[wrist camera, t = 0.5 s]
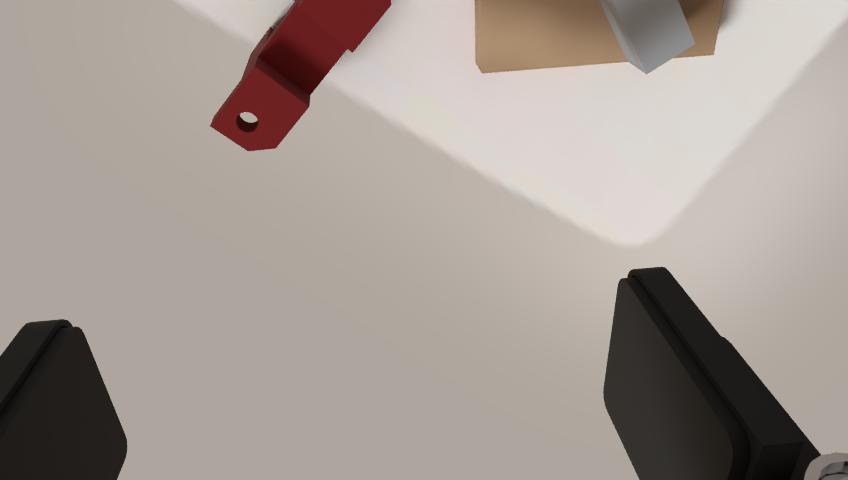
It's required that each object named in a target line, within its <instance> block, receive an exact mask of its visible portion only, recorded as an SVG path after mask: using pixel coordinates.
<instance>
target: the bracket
mask: <svg viewBox="0 0 848 480" xmlns="http://www.w3.org/2000/svg"><path fill="white" fill-rule="evenodd" d="M390 6H391V0H295V3H294V4H293V6H292V7H291V8H290V10H289V11H288V12H287V14H286V15H285V16H284V18H283V19H282V20H281V22H280V23H279V24H278V26H277V27H276V29H275V30H274V29H272V28H271V27H270V29H269V30H268V31H267V33H266V34H265V35H264V37H263V38H262V39H261V41H260V42H259V43H258V45H257V46H256V48H255V49H254V50H253V52H252V53H251V55H250V58H249V60H248V63H247V66H246V69H245V71H244V74H243V77H242V79H241V81H240V82H239V84H238V85H237V86H236V88H235V89H234V90H233V92H232V93H231V95H230V96H229V97H228V98H227V100H226V101H225V102H224V104H223V105H222V107H221V108H220V109H219V111H218V112H217V113H216V115H215V116H214V118H213V121H212V123H211V125H210V126H211V127H212V128H214V129H215V130H217V131H218V132H220V133H221V134H223V135H224V136H226V137H227V138H229V139H231V140H232V141H233V142H235V143H236V144H238V145H240V146H241V147H243V148H244V149H246V150H247V151H254V150H264V149H273V148H276V147H277V146H278V145H279V144H280V142H281V141H282V140H283V138H284V137H285V136H286V135H287V134H288V132H289V131H290V130H291V129H292V127H293V126H294V125H295V124H296V122H297V121H298V120H299V119H300V117H301V116H302V115H303V113H304V112H305V111H306V110H307V109H308V107H309V103H310V94H311V93H312V92H313V91H314V90H315V88H316V87H317V86H318V85H319V83H320V82H321V81H322V80H323V78H324V77H325V76H326V75H327V73H328V72H329V71H330V70H331V68H332V67H333V66H334V65H335V63H336V62H337V61H338V60H339V58H340V57H341V56H342V55H343V53H344V52H345V51H346V50H347V49H349V50H350V51H351V52H352V53H353V52H354V50H355V49H356V48H357V47H358V45H359V44H360V43H361V42H362V40H363V39H364V38H365V37H366V35H367V34H368V33H369V32H370V30H371V29H372V28H373V27H374V25H375V24H376V23H377V22H378V21H379V19H380V18H381V17H382V16H383V14H384V13H385V12H386V11H387V9H388V8H389V7H390ZM243 112H250V113H252V114H254V115H255V116H256V117H257V119H258V121H257V122H254V123H248V122H245V121H244V120H243V119H242V118H241V117H240V113H243Z"/></svg>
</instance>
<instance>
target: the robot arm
mask: <svg viewBox="0 0 848 480" xmlns="http://www.w3.org/2000/svg"><path fill="white" fill-rule="evenodd" d="M603 393H604V402H605V406H606V409H607V411H608V414H609V416H610V418H611V420H612V422H613V424H614V426H615V429H616V430H617V433H618V435H619V437H620V439H621V441H622V443H623V445H624V448H625V450H626V452H627V454H628V456H629V458H630V460H631V462H632V465H633V467H634V469H635V471H636V473H637V475H638V477H639V479H640V480H848V453H831V454H825V455H821V454H820V453H819V452H818V451H817V449H816V448H815V447H814V446H813V444H812V443H811V442H810V441H809V439H808V438H807V437H806V436H805V435H804V433H803V432H802V431H801V430H800V428H799V427H798V426H797V425H796V423H795V422H794V421H793V420H792V418H791V417H790V416H789V415H788V413H787V412H786V411H785V410H784V408H783V407H782V406H781V405H780V404H779V402H778V401H777V400H776V399H775V397H774V396H773V395H772V394H771V392H770V391H769V390H768V389H767V387H765V385H764V384H763V383H762V381H761V380H760V379H759V378H758V376H757V375H756V374H755V373H754V371H753V370H752V369H751V368H750V366H749V365H748V364H747V363H746V362H745V360H744V359H743V358H742V356H741V355H740V354H739V353H738V352H737V350H736V349H735V348H734V347H733V345H732V344H731V343H730V342H729V341H728V340H727V339H726V338H724V337H722V336H720V335H719V333H718V332H717V331H716V330H715V328H714V327H713V326H712V325H711V323H710V322H709V321H708V320H707V318H706V317H705V316H704V315H703V314H702V312H701V311H700V310H699V309H698V307H697V306H696V305H695V303H694V302H693V301H692V300H691V298H690V297H689V296H688V295H687V293H686V292H685V291H684V289H683V288H682V287H681V286H680V284H678V282H677V281H676V280H675V278H674V277H673V276H672V274H671V273H670V272H669V271H668V270H667V269H666V268H665V267H655V268H644V269H633V270H631V271H630V272H629V274H628V277H627V278H622V279H620V281H619V284H618V289H617V296H616V303H615V311H614V317H613V325H612V332H611V339H610V346H609V354H608V361H607V368H606V375H605V383H604V392H603ZM126 453H127V439H126V436H125V433H124V431H123V428H122V426H121V423H120V421H119V419H118V416H117V414H116V411H115V409H114V406H113V404H112V401H111V399H110V396H109V394H108V391H107V389H106V386H105V384H104V382H103V379H102V377H101V374H100V372H99V370H98V367H97V364H96V362H95V360H94V357H93V355H92V352H91V350H90V347H89V345H88V342H87V340H86V337H85V335H84V333H83V331H82V330H81V329H80V328H79V327H73V326H72V324H71V323H70V322H69V321H67V320H64V319H62V320H51V321H39V322H30V323H27V324H25V325H24V326H23V327H22V329H21V330H20V331H19V332H18V334H17V335H16V336H15V338H14V339H13V340H12V342H11V343H10V344H9V346H8V347H7V348H6V350H5V351H4V352H3V354H2V355H1V356H0V480H117V478H118V475H119V473H120V471H121V468H122V466H123V463H124V461H125V458H126Z"/></svg>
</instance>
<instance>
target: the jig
mask: <svg viewBox="0 0 848 480" xmlns="http://www.w3.org/2000/svg"><path fill="white" fill-rule="evenodd" d="M723 1H724V0H475V43H476V64H477V66H478V67H479V69H480V71H481V72H482V73H492V72H505V71H517V70H530V69H542V68H555V67H568V66H580V65H593V64H605V63H618V62H630V63H631V64H632V65H634V66H635V67H637V68H638V69H640V70H641V71H643V72H644V73H645V74H648V73H649V72H651V71H653V70H654V69H656V68H657V67H659V66H661V65H662V64H664V63H666V62H667V61H669V60H670V59H672V58H681V57H694V56H706V55H714V50H715V45H716V39H717V34H718V28H719V23H720V18H721V12H722V7H723Z"/></svg>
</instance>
